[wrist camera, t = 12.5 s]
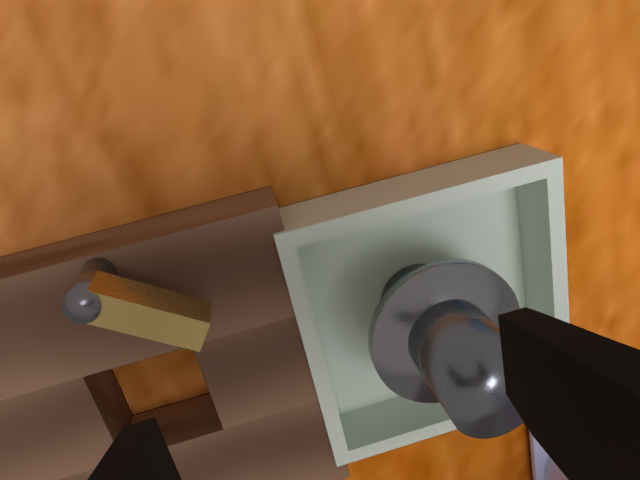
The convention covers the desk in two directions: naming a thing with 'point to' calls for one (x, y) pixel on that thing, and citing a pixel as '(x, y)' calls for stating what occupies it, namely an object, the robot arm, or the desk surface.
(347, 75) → the desk surface
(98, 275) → the lever
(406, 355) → the pin
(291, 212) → the tray
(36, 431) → the socket block
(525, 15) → the desk surface
